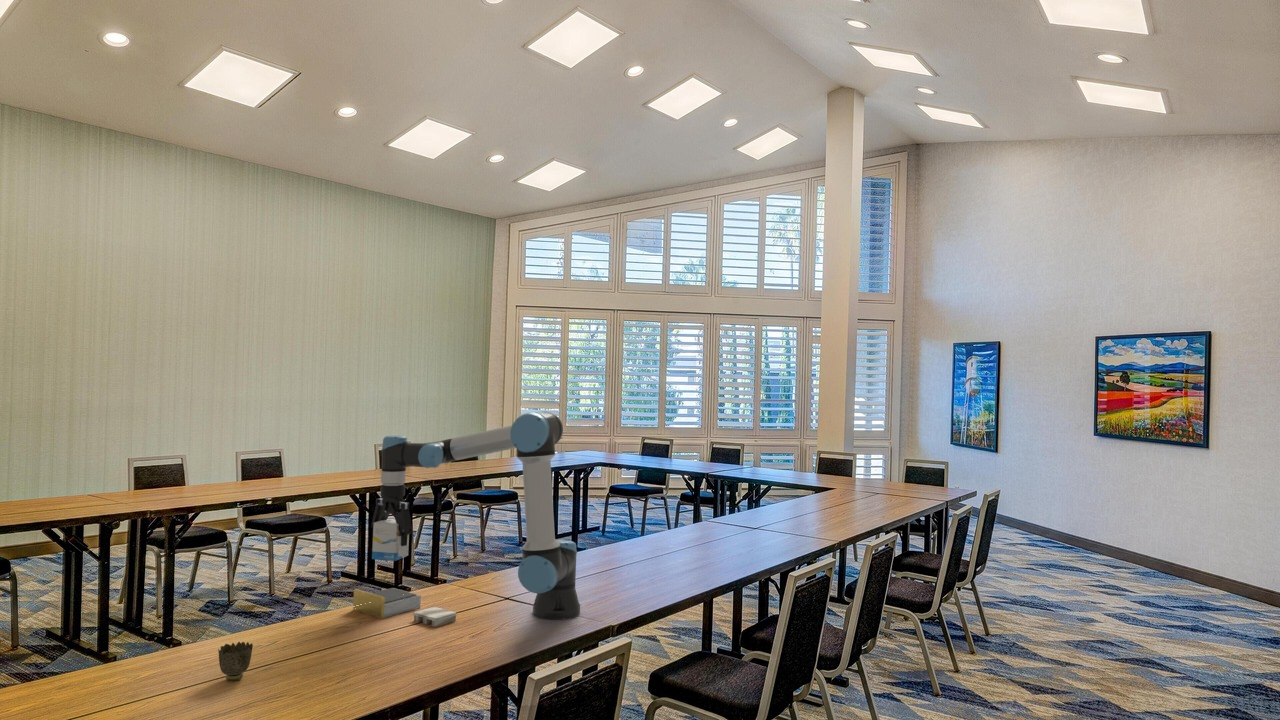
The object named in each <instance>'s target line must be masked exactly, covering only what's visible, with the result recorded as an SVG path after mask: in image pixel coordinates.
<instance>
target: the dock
mask: <svg viewBox="0 0 1280 720" xmlns="http://www.w3.org/2000/svg"><path fill="white" fill-rule="evenodd" d="M403 594H404V595H403ZM421 597H422V596H421V595H420V594H418V593H414V592H410V591H407V590H403V589H398V588H395V587H391V588H386V589H382V590H378V591H375V592H368V591H364V590H362V589H357V588H356V589H353V601H352V602H353V604H352V606H355V607H352V610H353V609H354V610H353V611H355V610H356V611H355V612H358V613H361V612H362V614H364V613H365V615H368V616H372V617H375V618H378V619H384V618H389V617H392V616H396V615H399V614H403V613H406V612H410V611H414V610H417V609H420V608H421ZM369 602H371V603H369ZM365 603H366V604H365ZM360 604H362V605H360ZM356 605H359V606H356ZM355 608H356V609H355Z"/></svg>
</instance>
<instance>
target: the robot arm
mask: <svg viewBox="0 0 1280 720" xmlns="http://www.w3.org/2000/svg"><path fill="white" fill-rule="evenodd" d="M562 422H563V421H561V419H560V417H559V416H557V415H556V414H555V413H553V412H551V411H531V412H527V413H523V414H521V415H520V416H518V417H517V418H516V419H515V420H514V421H513V423H512V424H511V425H507V426H503V427H498V428H494V429H493V428H492V429H489V430H485V431H484V430H483V431H479V432H475V433H471V434H470V433H469V434H467V435H462V436H456V437H453V438H447V439H443V440H438V441H431V442H424V443H423V442H420V443H419V442H417V443H416V442H408V437H407V436H405V435H386V436H384V437H383V439H382V449H381V470H380V471H381V472H380V473H381V474H380V484H381V485H380V497H382V498H376V499H375V507H374V511H373V515H372V519H371V525H370V527H371V529H373V526H374V522H378V521H381V520H387V519H389V517H390V514H391V515H392V516H393V517H394V519H395V520H396V523H397V524H399V528H398V530H399V533H400V534H399V535H398V550H397V556H398V557H400V556H405V555H406V545H407V535H408V534H409V535H410V534H413V526H412V520H411V514H410V502H405V501H404V500H403V497H404V496H405V495H406V485H405V483H406V473H407V471H406V470H407V467H415V468H426V469H431V468H433V469H434V468H437V467H439V466H440V465H441V464H448V463H451V462H456V461H459V460H465V459H469V458H474V457H480V456H484V455H488V454H489V455H490V454H493V453H498V452H503V451H508V450H513V449H516V458H517V459H518V461H520V462H521V464H522V476H523V477H522V480H523V495H524V496H523V498H524V514H525V515H524V516H525V532H526V541H525V543H524V544H523V546H522V549H521V550H522V551H521V552H522V560H521V562H520V563H519V565H518V570H517V577H518V580H519V582H520V585H522V587H523V588H524V589H525V590H526V591H528V592H530V593H533V594H536V596H535V598H534V602H533V605H532V614H533V615H534V616H535V617H538V618H542V619H546V620H547V619H548V620H565V619H572V618H575V617H577V616H579V615H580V614H581V605H580V602H579V598H578V595H577V590H576V577H577V576H576V575H577V573H576V572H577V554H578V551H577V543H576V542H574V541H572V540H564V539H556V535H555V517H554V500H553V499H554V497H553V485H552V484H553V482H552V465H551V461H552V459H553V458H554V457H555V456H556V449H555V448H556V447H555V446H556V444H558V443H559V441H561V439H562V437H563V432H564V426H563V423H562Z"/></svg>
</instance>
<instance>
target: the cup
mask: <svg viewBox="0 0 1280 720" xmlns="http://www.w3.org/2000/svg"><path fill="white" fill-rule="evenodd" d="M253 647H254V645H253V642H251V643H249V641H248V642H246V643H245V641H242V642H240V641H238V642H237V643H236V644H235V643H234V642H232V643H231V644H228V643H225V644H224V645H221V646H220V648H218V649H217V651H218V659H219V669H220V671H221V673H223V674H224V675H225V679H226V681H227V682H230V681H234V682H239V681H241V679H243V676H244V672H246V671H247V669H248V668H249V666H250V664H251V659H252V653H253Z"/></svg>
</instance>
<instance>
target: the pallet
mask: <svg viewBox="0 0 1280 720" xmlns="http://www.w3.org/2000/svg"><path fill="white" fill-rule="evenodd" d="M413 617H414V618H413V621H414V622H421V621H422V624H424V625H429V624H431V627H435V628H436V627H439V626H443V625H447V624H450V623H452V622H455V621H457V612H456V611H452V610H448V609H445V608H441V607H437V606H432V607H428V608H425V609H424V608H423V609H420V610H418V611H414V612H413Z"/></svg>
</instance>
